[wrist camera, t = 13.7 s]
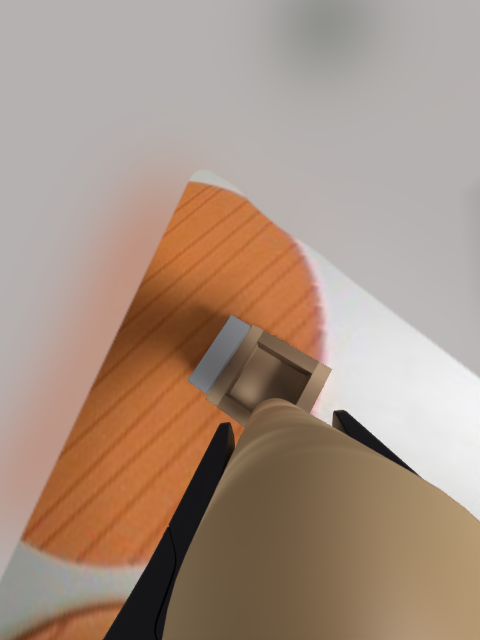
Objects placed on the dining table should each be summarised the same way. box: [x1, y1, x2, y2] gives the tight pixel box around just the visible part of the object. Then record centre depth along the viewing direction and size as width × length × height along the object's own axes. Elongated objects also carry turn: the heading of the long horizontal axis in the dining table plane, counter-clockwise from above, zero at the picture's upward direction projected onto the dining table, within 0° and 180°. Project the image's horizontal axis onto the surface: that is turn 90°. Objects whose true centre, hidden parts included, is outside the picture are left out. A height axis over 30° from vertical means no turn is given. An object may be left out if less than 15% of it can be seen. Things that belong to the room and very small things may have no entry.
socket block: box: [206, 324, 332, 427], centre depth 20 cm, size 8×8×4 cm
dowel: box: [162, 398, 480, 640], centre depth 8 cm, size 4×4×13 cm
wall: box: [188, 315, 250, 394], centre depth 21 cm, size 7×2×5 cm, turn 147°
